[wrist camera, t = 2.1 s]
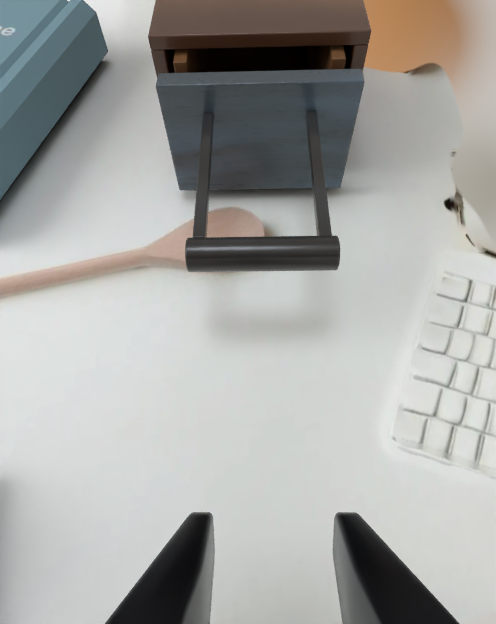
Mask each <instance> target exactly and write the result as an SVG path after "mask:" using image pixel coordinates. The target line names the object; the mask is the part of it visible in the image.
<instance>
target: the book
mask: <svg viewBox="0 0 496 624" xmlns="http://www.w3.org/2000/svg"><path fill="white" fill-rule="evenodd" d="M107 52H108V49H107V46H106V43H105V40H104V36H103V33H102V30H101V27H100V23H99V20H98V17H97V14H96V12H95V11H94V10H93V9H92V8H91V7H90V6H89V5H88V4H87V3H85V2H84V1H83V0H70V2H68V1H67V0H0V199H1V198H2V197H3V195H4V194H5V192H6V191H7V190H8V188H9V187H10V186H11V184H12V183H13V181H14V180H15V179H16V177H17V176H18V175H19V173H20V172H21V170H22V169H23V168H24V166H25V165H26V164H27V162H28V161H29V159H30V158H31V157H32V155H33V154H34V153H35V151H36V150H37V148H38V147H39V146H40V144H41V143H42V142H43V140H44V139H45V137H46V136H47V135H48V133H49V132H50V131H51V129H52V128H53V126H54V125H55V124H56V122H57V121H58V120H59V118H60V117H61V115H62V114H63V113H64V111H65V110H66V109H67V107H68V106H69V104H70V103H71V102H72V100H73V99H74V98H75V96H76V95H77V93H78V92H79V91H80V89H81V88H82V87H83V85H84V84H85V82H86V81H87V80H88V78H89V77H90V76H91V74H92V73H93V71H94V70H95V69H96V67H97V66H98V65H99V63H100V62H101V60H102V59H103V58H104V56H105V55H106V54H107Z"/></svg>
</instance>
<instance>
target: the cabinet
mask: <svg viewBox="0 0 496 624" xmlns="http://www.w3.org/2000/svg"><path fill="white" fill-rule="evenodd" d="M370 34H371V29H370V25H369V21H368V17H367V13H366V9H365V5H364V1H363V0H156V2H155V7H154V11H153V16H152V21H151V26H150V30H149V35H148V38H149V43H150V47H151V49H152V50H151V52H152V57H153V61H154V66H155V70H156V75H157V78H158V74H159V73H175V70H174V64H173V61H174V54H175V49H204V48H245V47H286V46H327V45H343V47H344V52H345V57H346V61H345V66H344V69H362V71H363V67H364V62H365V57H366V53H367V48H368V43H369V39H370Z"/></svg>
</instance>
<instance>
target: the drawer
mask: <svg viewBox="0 0 496 624" xmlns="http://www.w3.org/2000/svg"><path fill="white" fill-rule="evenodd" d="M345 61H346V57H345V52H344V47H343V45H327V46H286V47H245V48H204V49H175V54H174V61H173V64H174V70H175V73H159V74H158V78H157V83H156V89H157V93H158V97H159V102H160V106H161V111H162V115H163V119H164V124H165V128H166V132H167V137H168V141H169V146H170V150H171V154H172V159H173V163H174V168H175V172H176V176H177V181H178V185H179V189H180V190H197V192H196V204H195V216H194V228H193V238H187V240H186V246H185V258H186V266H187V270H188V271H189V272H234V271H315V270H337V269H338V266H339V261H340V243H339V238H338V236H332V234H331V226H330V217H329V209H328V201H327V193H326V188H340V186H341V182H342V178H343V174H344V169H345V165H346V160H347V156H348V152H349V147H350V143H351V138H352V134H353V130H354V125H355V121H356V117H357V112H358V108H359V103H360V99H361V95H362V90H363V86H364V77H363V73H362V69H344V66H345ZM287 188H312V189H313V199H314V209H315V219H316V229H317V236H281V237H211V238H207V224H208V208H209V192H210V190H227V189H287Z"/></svg>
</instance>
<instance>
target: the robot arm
mask: <svg viewBox="0 0 496 624" xmlns="http://www.w3.org/2000/svg"><path fill="white" fill-rule="evenodd" d="M214 554H215V547H214V526H213V516H212V514H211V513H209V512H193V513H191V514H190V515H189V516H188V517H187V518H186V520H185V521H184V522H183V524H182V525H181V526H180V528H179V529H178V530H177V531H176V533H175V534H174V535H173V537H172V538H171V539H170V540H169V542H168V543H167V544H166V546H165V547H164V548H163V549H162V551H161V552H160V553H159V555H158V556H157V557H156V558H155V560H154V561H153V562H152V564H151V565H150V566H149V568H148V569H147V570H146V571H145V573H144V574H143V575H142V577H141V578H140V579H139V580H138V582H137V583H136V584H135V586H134V587H133V588H132V589H131V591H130V592H129V593H128V595H127V596H126V597H125V598H124V600H123V601H122V602H121V604H120V605H119V606H118V608H117V609H116V610H115V611H114V613H113V614H112V615H111V617H110V618H109V619H108V620H107V622H106V623H105V624H210V612H211V598H212V585H213V571H214ZM333 559H334V566H335V573H336V580H337V587H338V594H339V601H340V608H341V615H342V622H343V624H459V623H458V622H457V620H456V619H455V618H454V617H453V616H452V615H451V614H450V613H449V612H448V611H447V610H446V608H445V607H444V606H443V605H442V604H441V603H440V602H439V601H438V600H437V599H436V598H435V597H434V595H433V594H432V593H431V592H430V591H429V590H428V589H427V588H426V587H425V586H424V585H423V584H422V582H421V581H420V580H419V579H418V578H417V577H416V576H415V575H414V574H413V573H412V572H411V571H410V569H409V568H408V567H407V566H406V565H405V564H404V563H403V562H402V561H401V560H400V559H399V558H398V556H397V555H396V554H395V553H394V552H393V551H392V550H391V549H390V548H389V547H388V546H387V545H386V543H385V542H384V541H383V540H382V539H381V538H380V537H379V536H378V535H377V534H376V533H375V531H374V530H373V529H372V528H371V527H370V526H369V525H368V524H367V523H366V522H365V521H364V520H363V518H362V517H361V516H360V515H359V514H357V513H354V512H339V513H337V514H336V515H335V518H334V535H333Z"/></svg>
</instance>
